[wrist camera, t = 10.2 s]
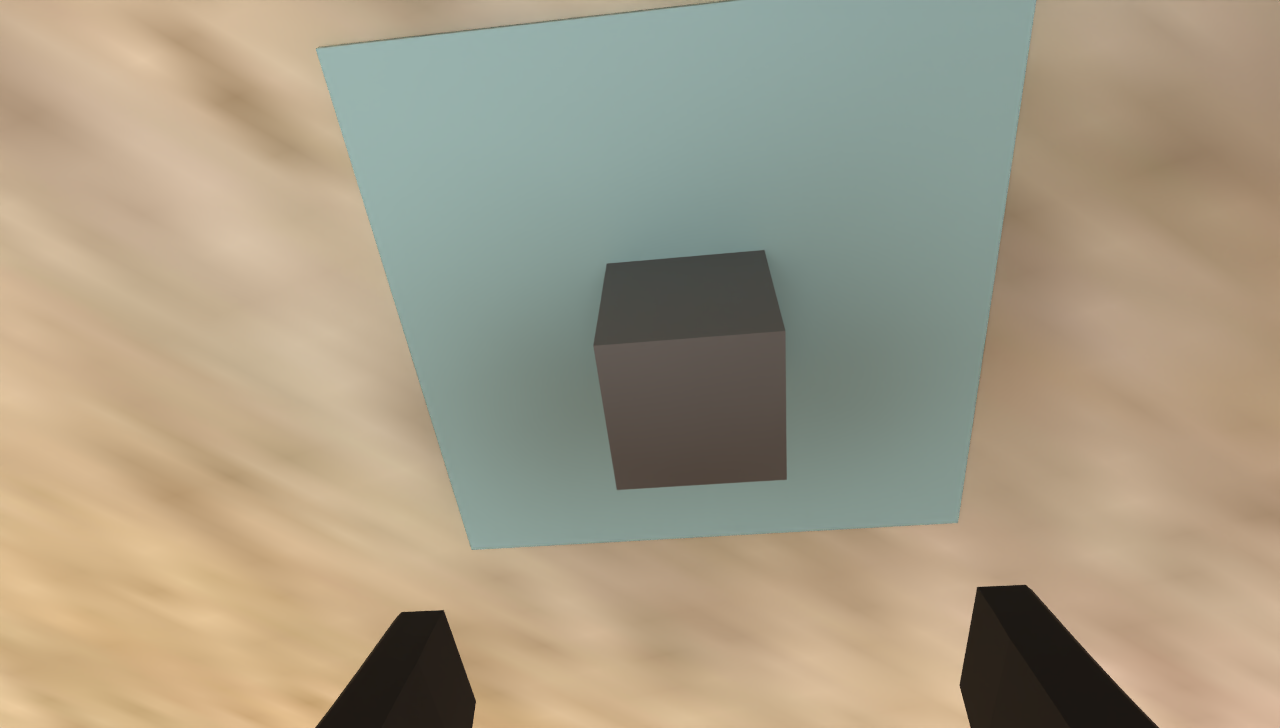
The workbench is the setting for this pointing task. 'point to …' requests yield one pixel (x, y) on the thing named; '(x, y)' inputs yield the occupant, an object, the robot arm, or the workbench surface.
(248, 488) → the workbench surface
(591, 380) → the teal lid
